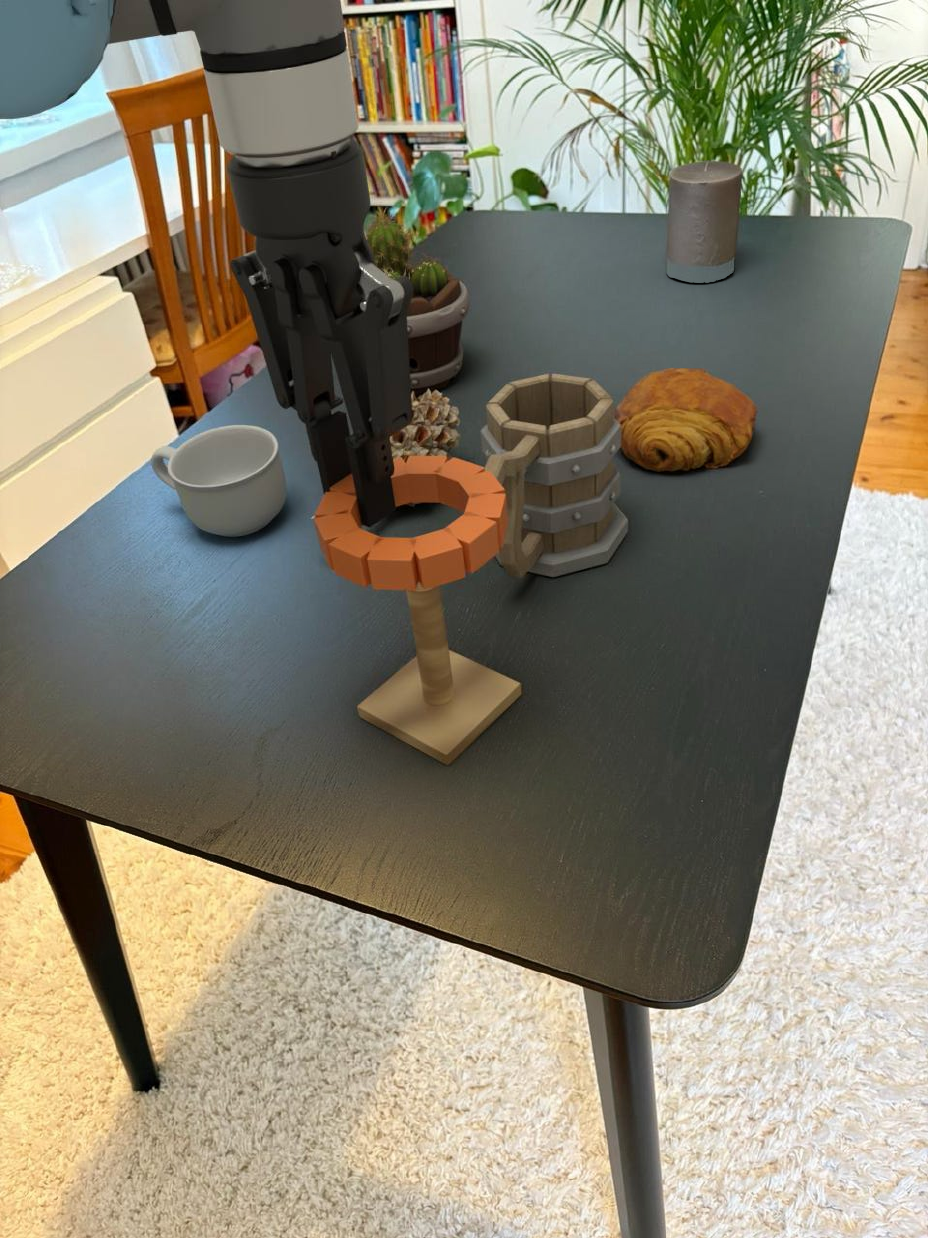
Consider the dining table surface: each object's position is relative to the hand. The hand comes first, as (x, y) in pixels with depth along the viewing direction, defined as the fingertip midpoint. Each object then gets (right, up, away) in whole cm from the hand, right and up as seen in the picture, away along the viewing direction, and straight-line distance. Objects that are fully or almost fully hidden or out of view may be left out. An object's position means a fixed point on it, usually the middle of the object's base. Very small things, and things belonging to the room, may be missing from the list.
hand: (361, 509), depth 68 cm
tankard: (+14, -2, +22) cm, 26 cm away
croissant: (+30, +11, +35) cm, 48 cm away
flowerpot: (+1, +22, +53) cm, 58 cm away
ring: (+4, -2, -2) cm, 5 cm away
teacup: (-17, +3, +32) cm, 36 cm away
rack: (+5, -14, +8) cm, 17 cm away
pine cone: (0, +3, +30) cm, 30 cm away
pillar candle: (+41, +42, +72) cm, 93 cm away
